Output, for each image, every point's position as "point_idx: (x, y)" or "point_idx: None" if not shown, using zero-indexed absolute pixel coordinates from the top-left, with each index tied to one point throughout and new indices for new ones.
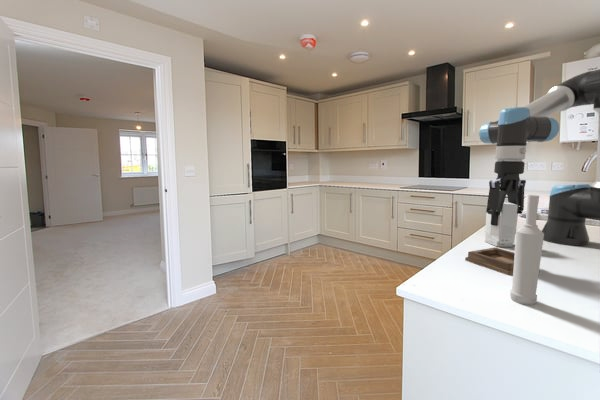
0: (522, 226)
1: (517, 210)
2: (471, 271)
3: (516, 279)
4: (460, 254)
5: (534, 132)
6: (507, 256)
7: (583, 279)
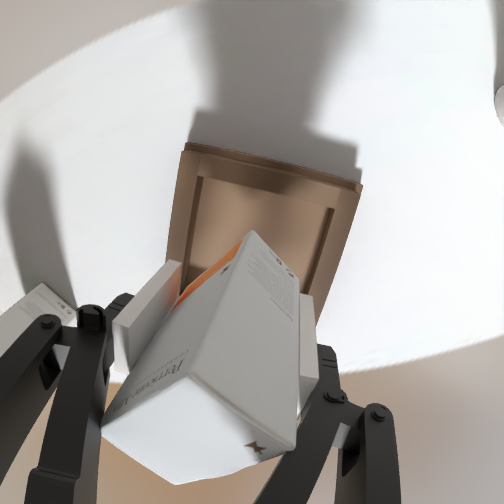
0: None
1: (99, 341)
2: (411, 273)
3: None
4: None
5: None
6: (190, 247)
7: (192, 23)
